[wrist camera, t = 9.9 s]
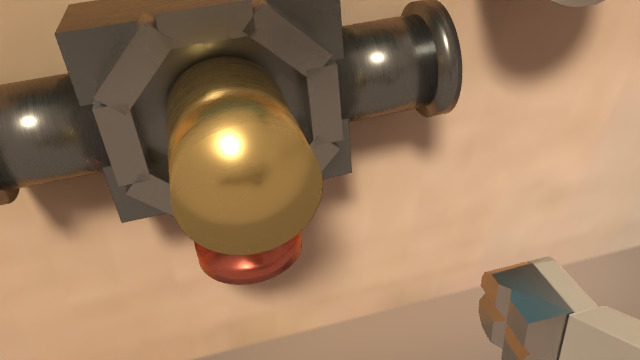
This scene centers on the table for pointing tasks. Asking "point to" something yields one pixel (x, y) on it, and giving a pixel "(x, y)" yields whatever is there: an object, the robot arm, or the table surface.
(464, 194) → the table surface
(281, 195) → the brass coupling
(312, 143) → the valve body
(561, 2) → the cream pebble-shaped knob
